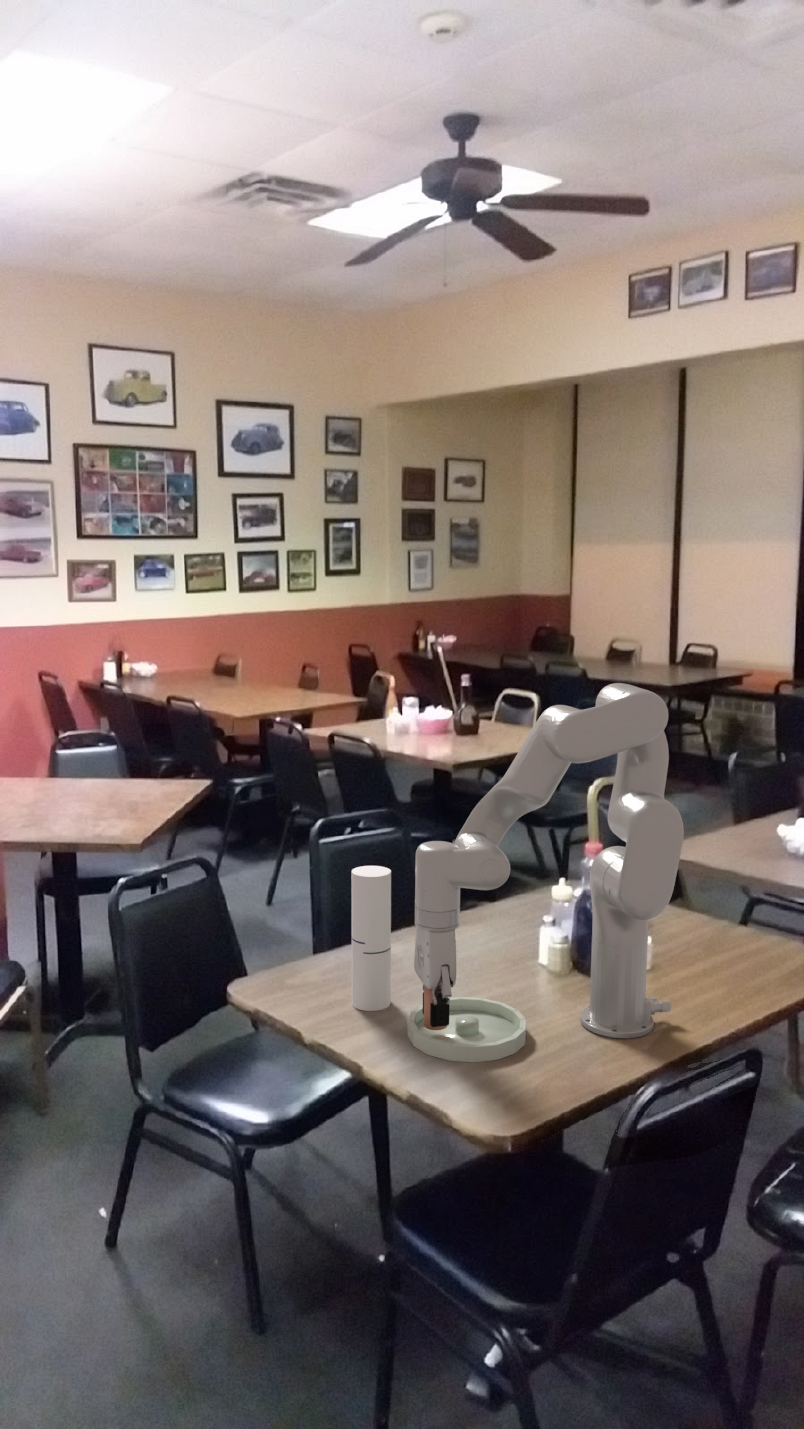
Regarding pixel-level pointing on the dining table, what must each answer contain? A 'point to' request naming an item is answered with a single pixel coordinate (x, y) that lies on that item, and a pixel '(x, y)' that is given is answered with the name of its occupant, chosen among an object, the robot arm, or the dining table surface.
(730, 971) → the dining table surface
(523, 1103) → the dining table surface
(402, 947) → the dining table surface
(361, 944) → the cylindrical container
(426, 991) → the orange cylinder
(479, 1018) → the groove tray
